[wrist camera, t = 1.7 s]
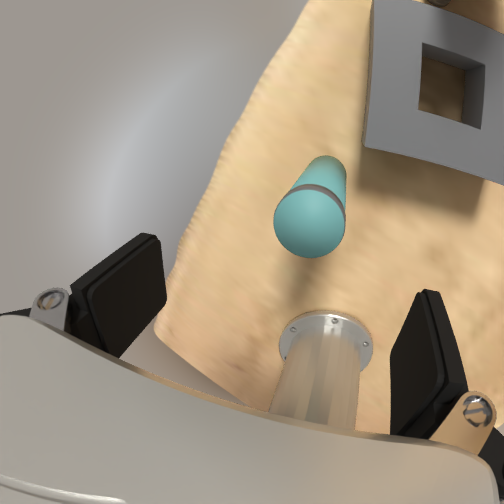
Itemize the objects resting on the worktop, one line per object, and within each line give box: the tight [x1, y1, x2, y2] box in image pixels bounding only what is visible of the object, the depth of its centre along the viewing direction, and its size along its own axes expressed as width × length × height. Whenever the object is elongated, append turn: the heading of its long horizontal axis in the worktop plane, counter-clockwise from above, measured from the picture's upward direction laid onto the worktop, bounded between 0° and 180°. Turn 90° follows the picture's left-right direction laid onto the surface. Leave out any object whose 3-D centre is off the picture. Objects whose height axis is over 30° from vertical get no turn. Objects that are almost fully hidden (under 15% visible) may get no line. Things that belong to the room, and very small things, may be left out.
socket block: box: [362, 0, 504, 186], centre depth 18 cm, size 14×14×5 cm
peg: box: [274, 156, 346, 258], centre depth 22 cm, size 4×4×14 cm
